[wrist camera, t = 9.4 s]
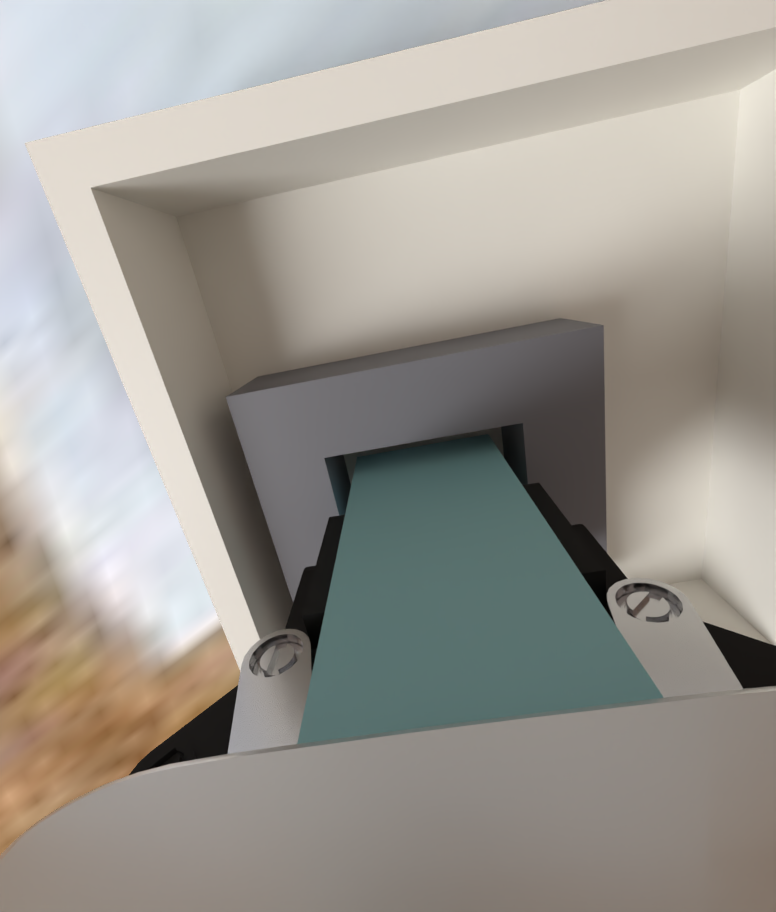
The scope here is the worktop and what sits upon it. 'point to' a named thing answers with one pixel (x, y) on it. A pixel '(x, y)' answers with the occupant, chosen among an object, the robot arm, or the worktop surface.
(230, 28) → the worktop surface
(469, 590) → the peg
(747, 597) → the walled box
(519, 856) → the robot arm
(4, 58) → the worktop surface
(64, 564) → the worktop surface
